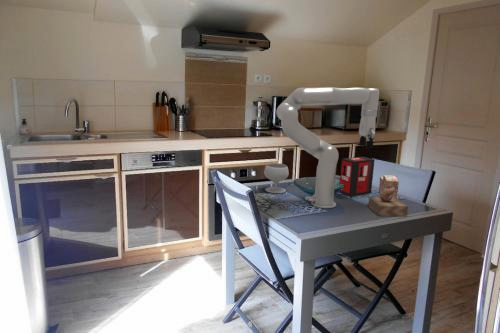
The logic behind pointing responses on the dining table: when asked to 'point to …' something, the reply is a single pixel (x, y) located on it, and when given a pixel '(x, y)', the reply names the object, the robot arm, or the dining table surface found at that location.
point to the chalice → (276, 176)
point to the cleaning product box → (356, 176)
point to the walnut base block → (388, 207)
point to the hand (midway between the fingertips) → (365, 147)
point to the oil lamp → (387, 194)
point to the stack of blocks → (389, 183)
